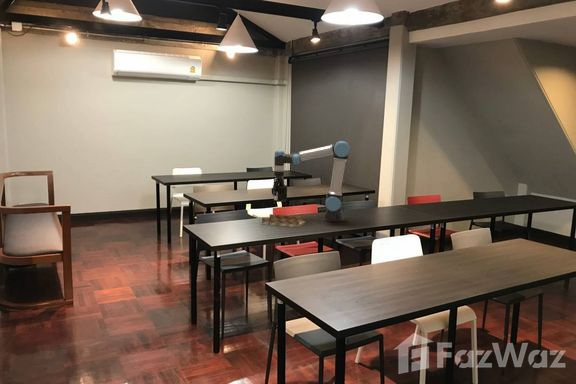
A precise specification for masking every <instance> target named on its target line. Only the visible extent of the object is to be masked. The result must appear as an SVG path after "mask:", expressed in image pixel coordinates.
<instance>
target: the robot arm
mask: <svg viewBox="0 0 576 384" xmlns="http://www.w3.org/2000/svg"><path fill="white" fill-rule="evenodd" d="M350 151H351V147H350V144H349V143H348V142H347V141H346V140H338V141H337V142H333V143H331V144H330V145H325V146H321V147H316V148H310V149H307V150H301V151H297V152H291V153H285V151H284V150H275V152H274V159H273V160H274V164H273V165H274V166H273V168H274V169H273V170H274V171H273V172H274V173H273V176H274V177H275V178H273V185H272V188H273V192H274V196H273V201H274V200H277V198H278V192H277V189H278V187H277V186H278V185H280V186H283V185H285V177H284V176H285V164H291V165H298V164H300V162H303V161H308V160H313V159H318V158H322V157H328V156H332V158H333V160H334V161H333V167H332V174H331V180H330V186H329V191H327V192H326V200H325V208H326V212H325V214H324V217H323V220H324V221H325V222H330V223H340V222H343V221H344V217H343V213H342V199H343V198H342V197H343V194H342V187H343V180H344V173H345V167H346V162H347V161H348V160H349V155H350Z"/></svg>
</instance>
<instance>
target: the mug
mask: <svg viewBox="0 0 576 384" xmlns="http://www.w3.org/2000/svg"><path fill="white" fill-rule="evenodd" d="M277 187H278V189H277V192H278V198H277V200H274V199H273V201H274V202H279V203H280V202H283V203H284V202H287V201H288V185H287V184H284V185H283V186H280V185H278V186H277ZM271 194H272V196H273V197H274V192H273V187H272V188H271Z"/></svg>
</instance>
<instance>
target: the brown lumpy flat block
mask: <svg viewBox="0 0 576 384" xmlns="http://www.w3.org/2000/svg"><path fill="white" fill-rule="evenodd" d="M305 224H306V216H298V215H295V216H294V215H284V214H272V213H271V214H269V217H262V218H261V225H268V226H269V225H270V226H280V227H287V228H288V227H290V228H300V227H301V226H303V225H305Z"/></svg>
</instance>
